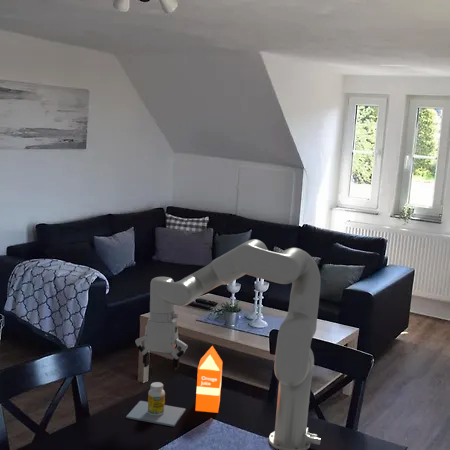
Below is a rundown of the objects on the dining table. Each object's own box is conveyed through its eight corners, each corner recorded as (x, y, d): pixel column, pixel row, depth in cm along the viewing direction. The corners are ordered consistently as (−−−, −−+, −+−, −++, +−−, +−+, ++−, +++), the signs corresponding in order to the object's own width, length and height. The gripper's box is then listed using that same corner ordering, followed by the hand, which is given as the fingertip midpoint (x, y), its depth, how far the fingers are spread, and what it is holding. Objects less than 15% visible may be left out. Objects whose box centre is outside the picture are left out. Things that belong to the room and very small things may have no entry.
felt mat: (185, 410, 210) (185, 408, 210) (174, 426, 199) (174, 424, 199) (140, 402, 214) (140, 400, 214) (126, 417, 202) (126, 416, 202)
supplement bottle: (159, 407, 210) (161, 379, 208) (166, 414, 205) (168, 386, 204) (144, 410, 207) (146, 382, 205) (151, 417, 202) (153, 389, 201)
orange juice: (220, 401, 219) (224, 346, 215) (218, 412, 210) (222, 355, 207) (197, 399, 219) (201, 344, 216) (194, 410, 210) (198, 353, 207)
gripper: (191, 315, 202) (190, 366, 205) (140, 310, 206) (139, 360, 209) (184, 322, 195) (183, 375, 198) (131, 316, 199) (131, 368, 202)
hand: (160, 367), depth 203 cm, fingers open, 9 cm apart
